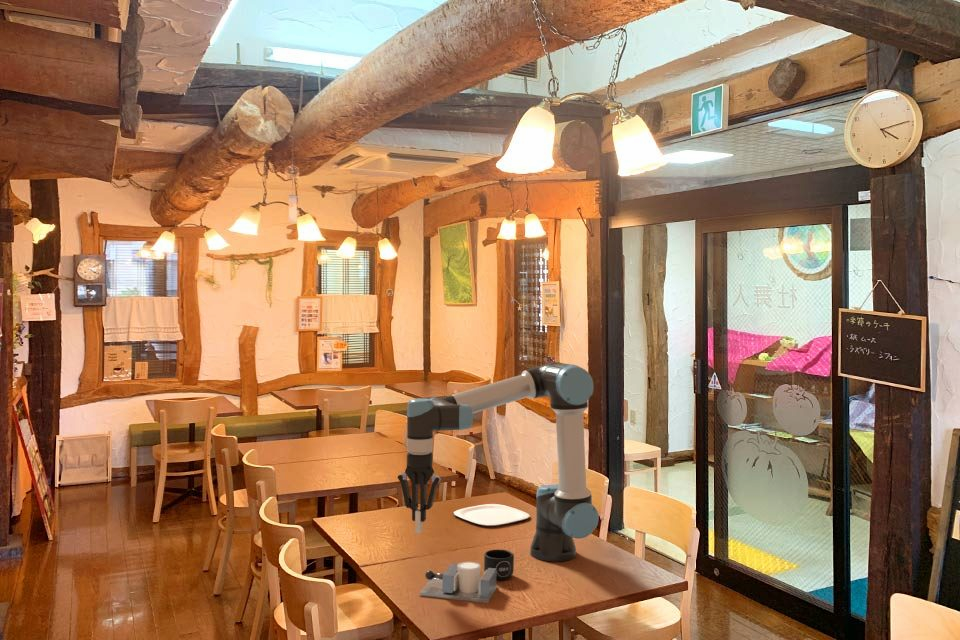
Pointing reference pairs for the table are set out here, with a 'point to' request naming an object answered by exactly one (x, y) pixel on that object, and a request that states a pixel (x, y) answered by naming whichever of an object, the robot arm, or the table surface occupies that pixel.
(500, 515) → the plate
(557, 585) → the table surface
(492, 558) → the mug
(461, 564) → the white cylinder
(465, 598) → the vise
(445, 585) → the jaw
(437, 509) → the table surface
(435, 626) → the table surface
